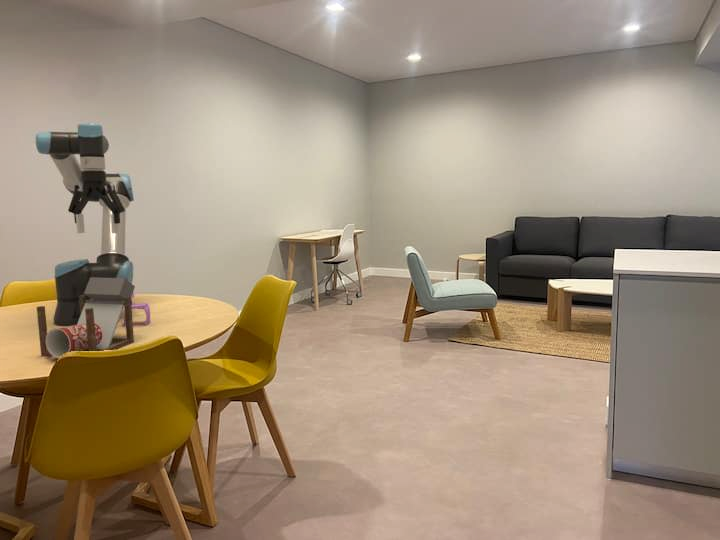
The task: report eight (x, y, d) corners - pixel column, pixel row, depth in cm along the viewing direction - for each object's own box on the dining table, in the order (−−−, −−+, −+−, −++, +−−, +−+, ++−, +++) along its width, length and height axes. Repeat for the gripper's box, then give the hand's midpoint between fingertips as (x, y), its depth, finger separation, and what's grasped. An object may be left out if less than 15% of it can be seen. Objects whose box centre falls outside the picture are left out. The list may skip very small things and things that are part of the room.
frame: (40, 355, 163) (36, 307, 161) (85, 339, 181) (82, 295, 179) (94, 359, 159) (90, 309, 157) (134, 341, 178) (131, 296, 175)
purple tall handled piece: (146, 326, 198) (143, 286, 196) (121, 327, 197) (118, 286, 195) (151, 321, 206) (149, 282, 204) (127, 322, 205) (124, 283, 203)
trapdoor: (74, 351, 174) (62, 344, 168) (99, 285, 184) (88, 277, 179) (113, 353, 171) (101, 346, 165) (136, 286, 181) (126, 278, 176)
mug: (98, 315, 168) (62, 323, 155) (109, 342, 167) (74, 353, 155) (69, 328, 171) (32, 337, 159) (79, 355, 171) (43, 366, 158)
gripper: (53, 170, 182) (58, 233, 185) (118, 169, 177) (123, 234, 180) (69, 171, 189) (74, 232, 192) (132, 170, 184) (137, 232, 187)
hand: (98, 233), depth 186 cm, fingers open, 13 cm apart
